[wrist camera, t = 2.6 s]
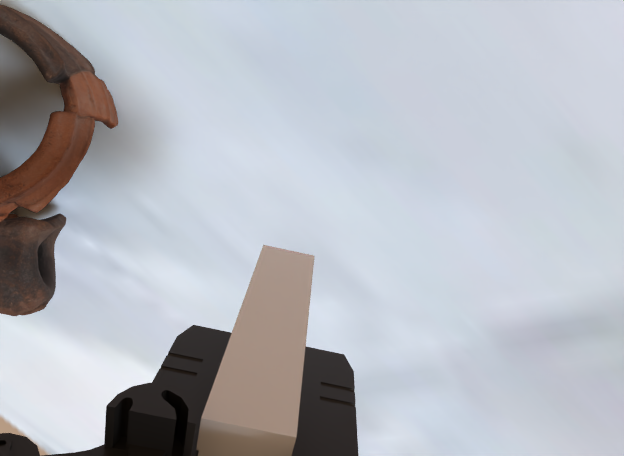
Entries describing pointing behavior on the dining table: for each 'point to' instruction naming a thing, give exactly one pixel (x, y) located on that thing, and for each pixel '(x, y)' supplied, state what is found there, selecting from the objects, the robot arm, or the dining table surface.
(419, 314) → the dining table surface
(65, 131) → the pottery mug
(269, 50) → the dining table surface
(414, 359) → the dining table surface
